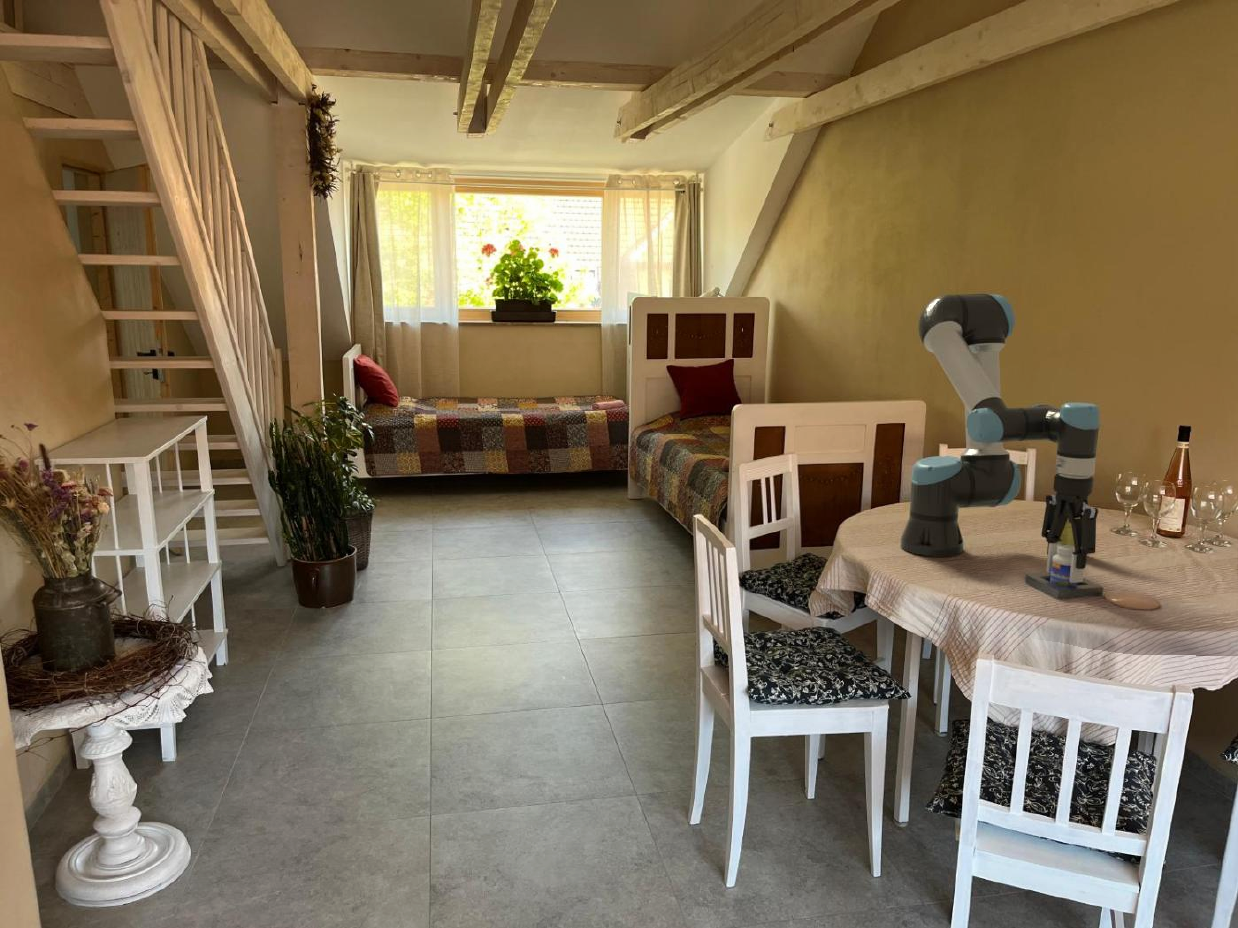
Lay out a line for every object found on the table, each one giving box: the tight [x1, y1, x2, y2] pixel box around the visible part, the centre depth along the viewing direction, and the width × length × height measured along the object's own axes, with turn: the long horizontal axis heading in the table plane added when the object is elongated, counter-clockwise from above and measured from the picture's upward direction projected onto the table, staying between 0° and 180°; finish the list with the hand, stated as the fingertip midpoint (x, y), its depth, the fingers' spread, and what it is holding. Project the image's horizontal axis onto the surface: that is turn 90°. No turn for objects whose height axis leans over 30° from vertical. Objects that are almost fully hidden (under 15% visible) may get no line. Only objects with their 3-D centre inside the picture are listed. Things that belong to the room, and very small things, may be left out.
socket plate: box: [1024, 572, 1104, 600], centre depth 196 cm, size 11×11×2 cm
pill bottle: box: [1050, 545, 1077, 587], centre depth 195 cm, size 5×5×10 cm
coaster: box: [1105, 590, 1160, 611], centre depth 188 cm, size 10×10×1 cm
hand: (1064, 576), depth 196 cm, fingers open, 7 cm apart
